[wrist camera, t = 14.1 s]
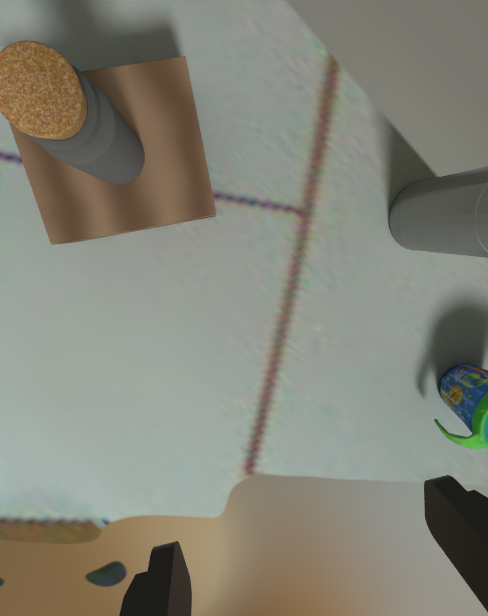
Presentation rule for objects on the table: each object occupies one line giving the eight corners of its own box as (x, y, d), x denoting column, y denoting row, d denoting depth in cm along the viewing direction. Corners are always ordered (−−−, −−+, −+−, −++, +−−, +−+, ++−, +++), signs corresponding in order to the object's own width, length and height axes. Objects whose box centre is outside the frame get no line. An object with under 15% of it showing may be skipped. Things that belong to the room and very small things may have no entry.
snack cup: (428, 430, 52) (479, 477, 42) (404, 385, 49) (453, 424, 40) (509, 382, 51) (579, 418, 42) (489, 333, 49) (560, 360, 39)
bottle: (78, 127, 30) (-41, 33, 16) (137, 119, 31) (74, 20, 16) (95, 189, 32) (0, 155, 17) (151, 180, 32) (104, 141, 18)
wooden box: (189, 84, 36) (185, 56, 30) (215, 216, 40) (216, 214, 34) (31, 109, 34) (-4, 84, 29) (74, 242, 38) (51, 244, 33)
